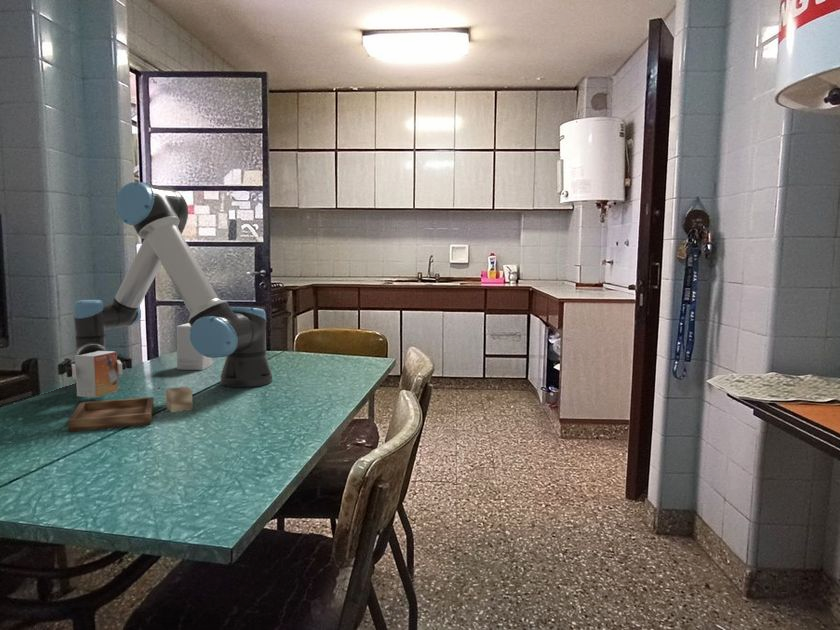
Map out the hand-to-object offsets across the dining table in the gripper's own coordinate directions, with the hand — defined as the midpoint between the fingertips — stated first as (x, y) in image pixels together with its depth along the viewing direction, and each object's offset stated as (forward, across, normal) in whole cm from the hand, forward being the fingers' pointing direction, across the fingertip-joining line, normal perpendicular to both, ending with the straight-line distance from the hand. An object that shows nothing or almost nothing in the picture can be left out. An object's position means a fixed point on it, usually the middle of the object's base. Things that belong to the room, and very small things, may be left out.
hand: (98, 371), depth 137 cm
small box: (-4, 0, -7) cm, 8 cm away
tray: (+11, -2, -10) cm, 15 cm away
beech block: (+10, -17, -10) cm, 22 cm away
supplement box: (-42, -31, -10) cm, 53 cm away
